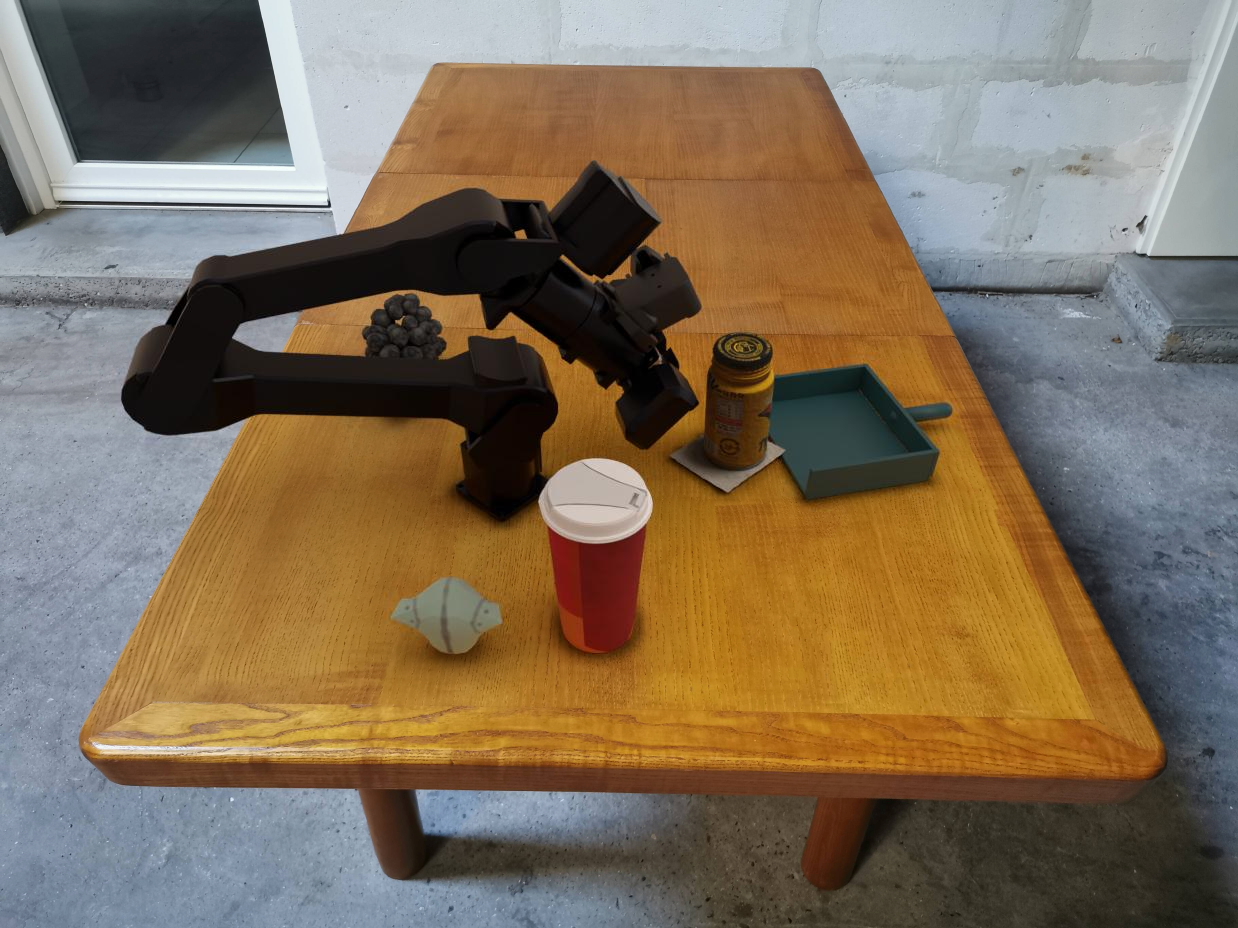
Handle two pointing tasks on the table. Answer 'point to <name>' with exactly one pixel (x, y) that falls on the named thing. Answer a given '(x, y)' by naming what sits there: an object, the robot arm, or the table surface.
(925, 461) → the teal dustpan
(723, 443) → the condiment
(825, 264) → the table surface
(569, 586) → the paper cup
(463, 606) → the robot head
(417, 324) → the fruit
